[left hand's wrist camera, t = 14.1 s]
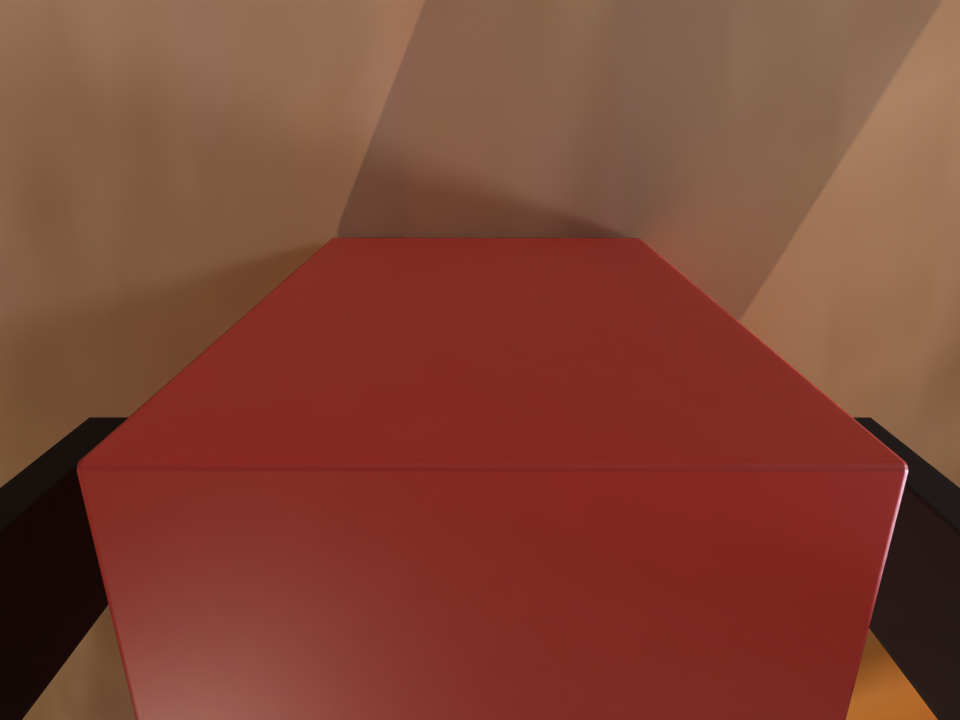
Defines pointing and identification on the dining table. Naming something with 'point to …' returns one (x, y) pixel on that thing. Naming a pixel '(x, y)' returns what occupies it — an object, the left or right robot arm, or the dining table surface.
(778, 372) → the block
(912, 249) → the dining table surface
